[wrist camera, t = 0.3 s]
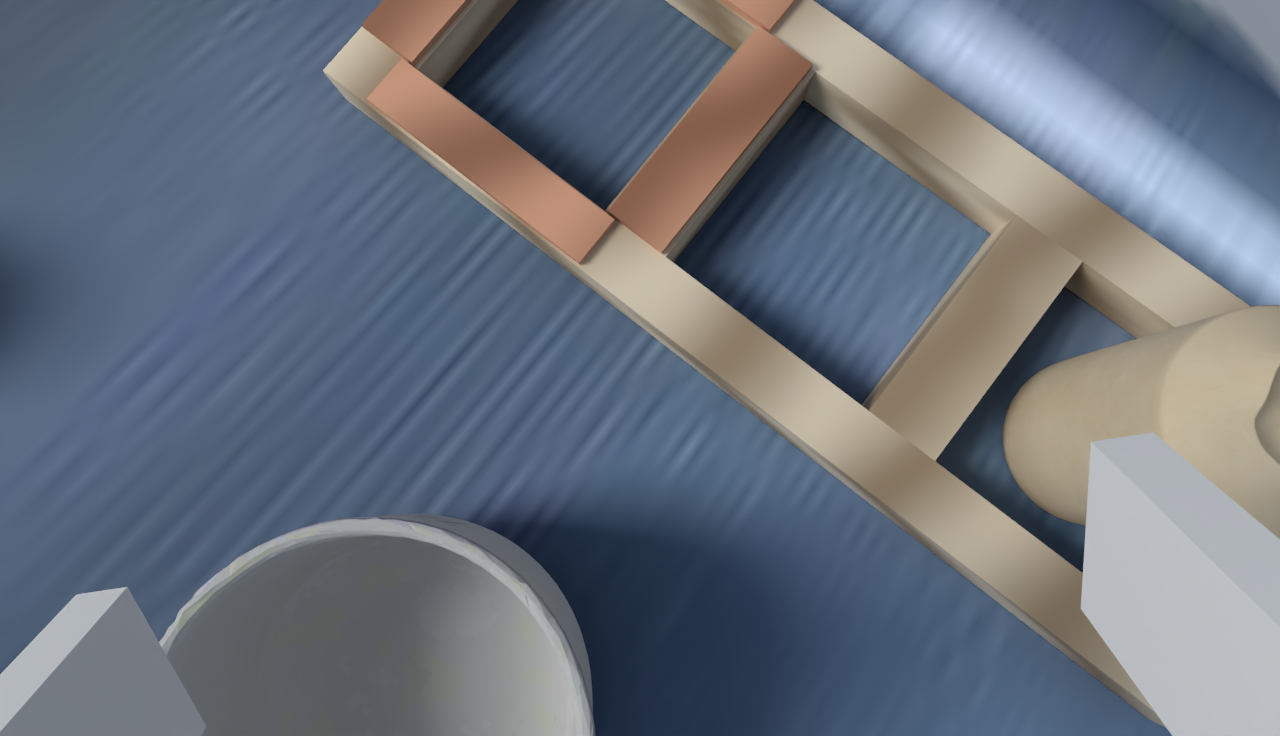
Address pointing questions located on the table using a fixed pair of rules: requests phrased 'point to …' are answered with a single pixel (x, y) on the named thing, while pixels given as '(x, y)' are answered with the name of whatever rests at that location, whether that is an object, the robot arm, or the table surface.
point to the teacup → (384, 636)
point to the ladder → (743, 353)
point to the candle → (1158, 411)
